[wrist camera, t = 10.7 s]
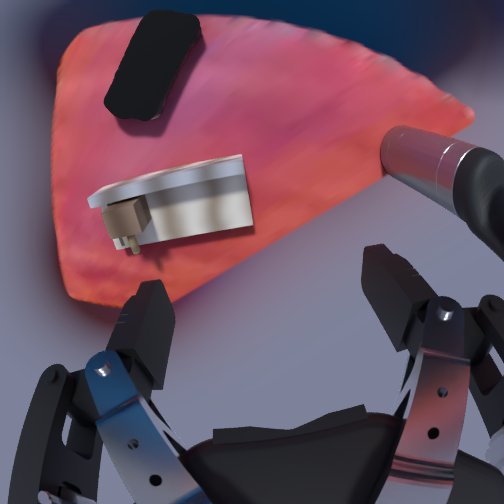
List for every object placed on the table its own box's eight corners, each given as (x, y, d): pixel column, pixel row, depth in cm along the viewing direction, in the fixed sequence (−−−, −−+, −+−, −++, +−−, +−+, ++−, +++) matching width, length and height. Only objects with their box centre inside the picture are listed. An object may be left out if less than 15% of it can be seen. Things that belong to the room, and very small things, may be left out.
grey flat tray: (241, 154, 36) (242, 161, 32) (252, 218, 41) (254, 234, 37) (103, 186, 37) (87, 198, 32) (121, 242, 42) (110, 259, 37)
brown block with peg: (144, 192, 36) (132, 204, 31) (158, 239, 39) (150, 256, 35) (114, 200, 36) (100, 213, 31) (130, 245, 39) (119, 262, 35)
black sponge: (155, 13, 24) (148, 6, 21) (207, 27, 27) (205, 19, 24) (109, 110, 31) (98, 111, 28) (158, 126, 34) (151, 128, 31)
